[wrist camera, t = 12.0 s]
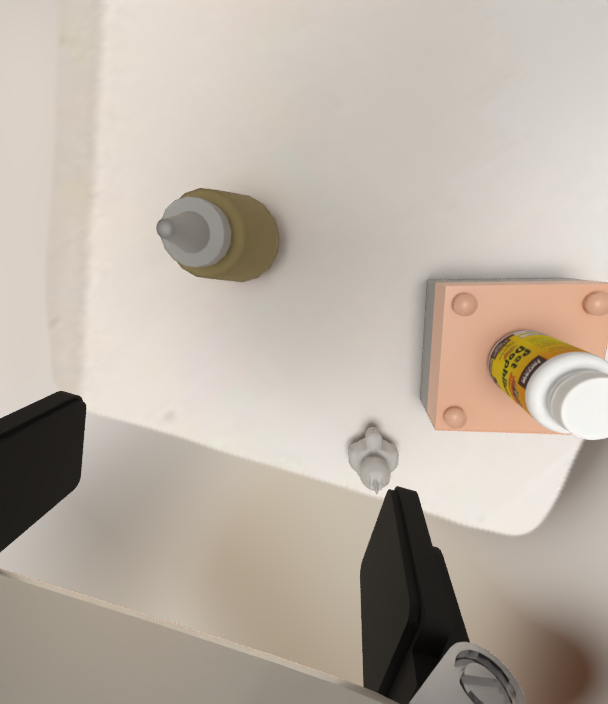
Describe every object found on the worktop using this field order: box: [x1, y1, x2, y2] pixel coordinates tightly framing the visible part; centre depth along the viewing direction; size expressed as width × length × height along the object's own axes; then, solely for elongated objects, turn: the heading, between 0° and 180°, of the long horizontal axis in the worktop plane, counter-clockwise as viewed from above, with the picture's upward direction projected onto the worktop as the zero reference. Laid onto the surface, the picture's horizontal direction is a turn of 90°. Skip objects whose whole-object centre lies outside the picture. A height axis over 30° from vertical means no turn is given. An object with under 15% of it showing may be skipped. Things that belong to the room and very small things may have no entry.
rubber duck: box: [349, 427, 399, 494], centre depth 39 cm, size 5×7×8 cm
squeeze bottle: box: [157, 188, 279, 282], centre depth 30 cm, size 8×8×18 cm
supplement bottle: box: [488, 330, 608, 440], centre depth 26 cm, size 6×6×10 cm
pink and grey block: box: [420, 278, 608, 435], centre depth 34 cm, size 13×13×8 cm
